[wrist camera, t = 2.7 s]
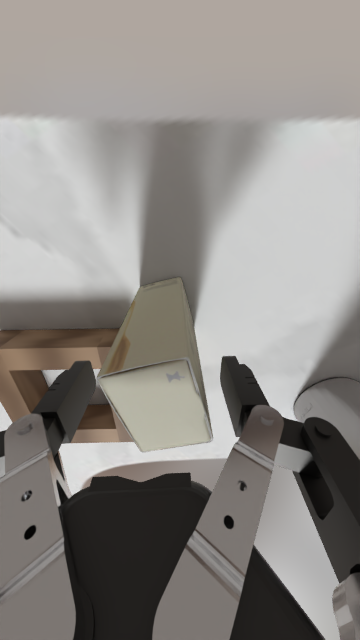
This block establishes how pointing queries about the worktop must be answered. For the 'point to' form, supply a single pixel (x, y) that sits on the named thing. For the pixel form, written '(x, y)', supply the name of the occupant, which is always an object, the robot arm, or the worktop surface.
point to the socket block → (55, 354)
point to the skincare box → (158, 371)
